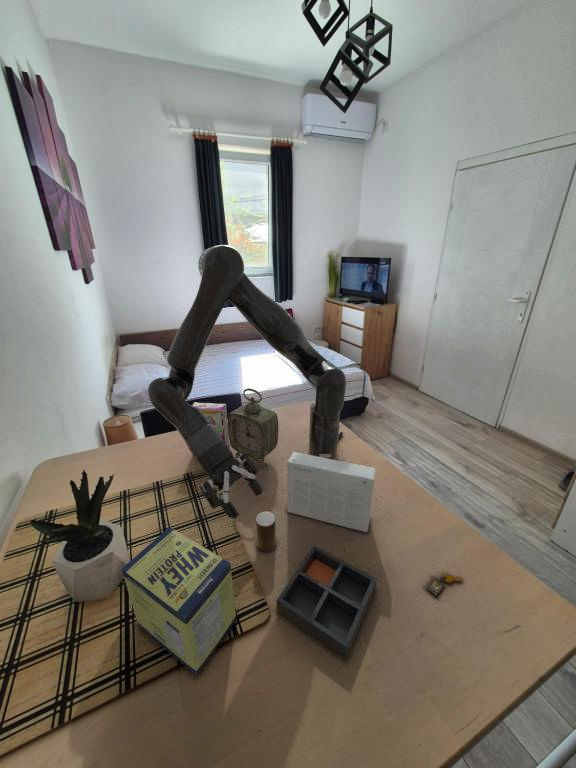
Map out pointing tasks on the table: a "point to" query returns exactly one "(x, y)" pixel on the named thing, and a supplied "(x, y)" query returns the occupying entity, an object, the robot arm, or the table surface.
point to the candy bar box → (216, 417)
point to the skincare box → (330, 490)
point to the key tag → (440, 584)
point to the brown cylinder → (266, 531)
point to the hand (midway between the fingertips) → (248, 505)
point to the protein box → (182, 597)
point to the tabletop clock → (253, 429)
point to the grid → (327, 599)
